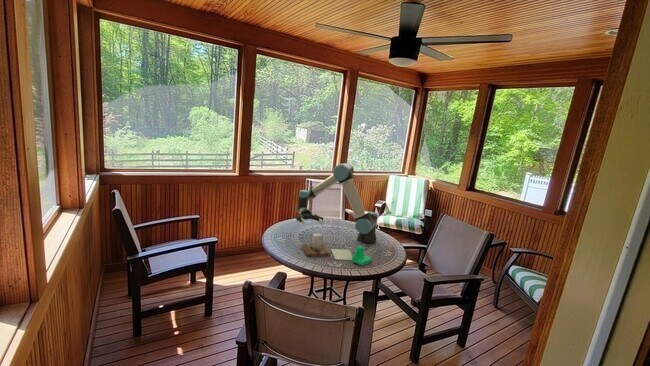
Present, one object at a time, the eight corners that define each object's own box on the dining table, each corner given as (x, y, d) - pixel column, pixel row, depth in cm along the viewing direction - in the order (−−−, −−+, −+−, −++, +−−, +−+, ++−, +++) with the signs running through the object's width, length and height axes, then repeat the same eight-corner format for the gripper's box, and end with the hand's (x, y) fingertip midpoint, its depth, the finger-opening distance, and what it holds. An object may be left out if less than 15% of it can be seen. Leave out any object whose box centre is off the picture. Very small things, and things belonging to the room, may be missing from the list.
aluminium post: (317, 249, 209) (319, 233, 206) (320, 252, 204) (322, 236, 202) (310, 250, 207) (312, 233, 205) (313, 253, 202) (315, 236, 200)
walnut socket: (322, 246, 215) (323, 243, 215) (330, 256, 201) (330, 253, 200) (301, 246, 210) (301, 244, 210) (307, 256, 195) (307, 253, 195)
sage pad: (349, 250, 213) (349, 249, 213) (354, 260, 198) (354, 259, 198) (331, 249, 211) (331, 249, 211) (335, 259, 196) (335, 259, 196)
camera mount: (360, 266, 190) (363, 251, 188) (351, 262, 195) (353, 247, 193) (371, 262, 199) (373, 247, 197) (362, 257, 204) (364, 243, 202)
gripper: (319, 218, 237) (329, 228, 217) (288, 217, 229) (295, 227, 209) (321, 209, 236) (330, 218, 216) (289, 208, 227) (296, 217, 208)
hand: (313, 222), depth 212 cm, fingers open, 13 cm apart
